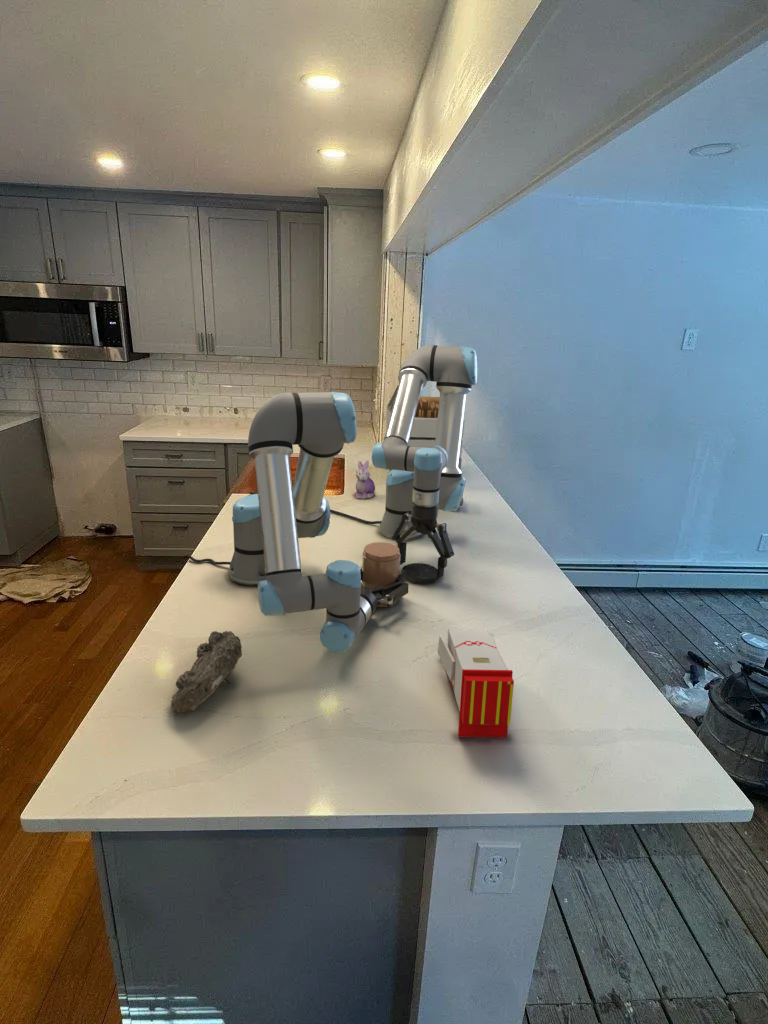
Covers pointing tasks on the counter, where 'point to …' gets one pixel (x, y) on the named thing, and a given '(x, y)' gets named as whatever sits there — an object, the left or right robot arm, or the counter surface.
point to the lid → (420, 573)
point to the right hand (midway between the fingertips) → (420, 570)
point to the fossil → (207, 670)
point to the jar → (380, 565)
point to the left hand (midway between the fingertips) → (385, 570)
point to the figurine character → (461, 503)
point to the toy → (478, 682)
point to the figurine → (364, 482)
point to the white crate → (423, 423)
